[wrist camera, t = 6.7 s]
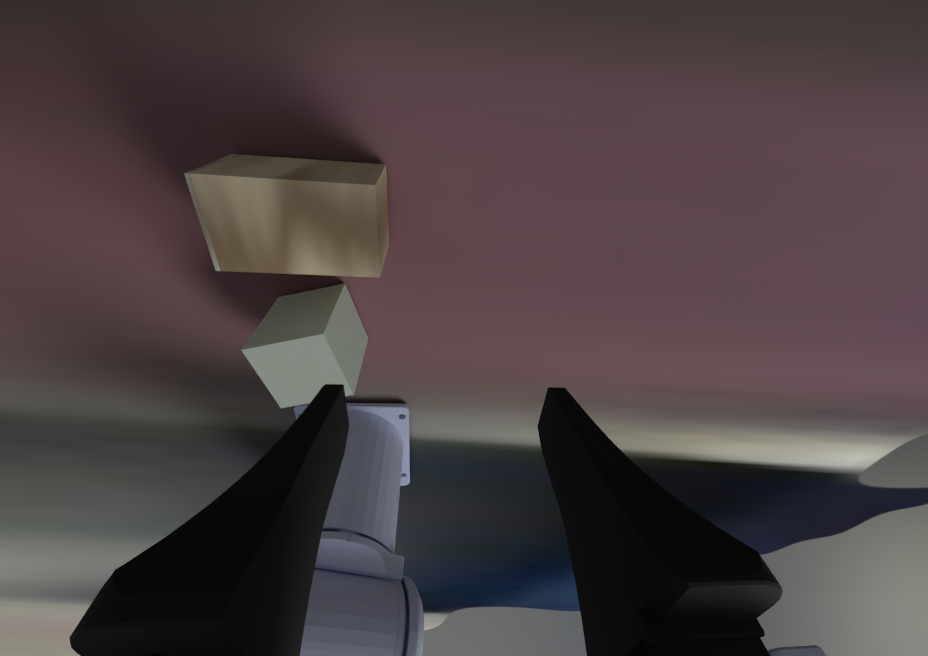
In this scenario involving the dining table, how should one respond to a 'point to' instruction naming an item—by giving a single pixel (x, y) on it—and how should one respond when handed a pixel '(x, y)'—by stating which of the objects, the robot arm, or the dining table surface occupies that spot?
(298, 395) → the sage block
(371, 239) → the maple block
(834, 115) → the dining table surface
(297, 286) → the dining table surface
